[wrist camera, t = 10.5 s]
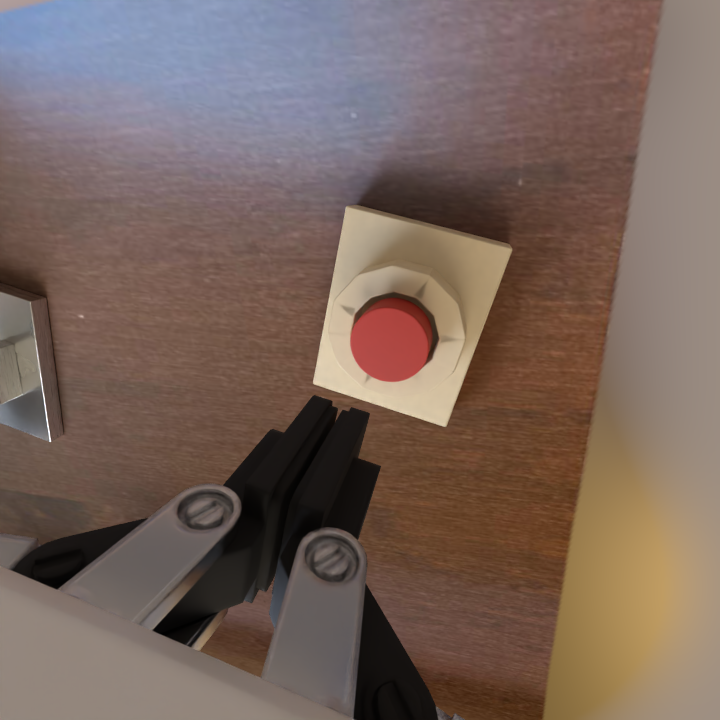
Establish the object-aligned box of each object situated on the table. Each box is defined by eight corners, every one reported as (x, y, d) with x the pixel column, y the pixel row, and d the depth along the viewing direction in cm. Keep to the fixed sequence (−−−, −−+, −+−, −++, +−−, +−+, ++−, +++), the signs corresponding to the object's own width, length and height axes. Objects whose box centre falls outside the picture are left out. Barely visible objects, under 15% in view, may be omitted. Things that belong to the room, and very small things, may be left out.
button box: (355, 204, 21) (334, 206, 18) (510, 243, 20) (517, 254, 17) (321, 372, 25) (300, 398, 22) (447, 412, 24) (443, 446, 21)
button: (368, 288, 19) (358, 297, 18) (442, 309, 19) (439, 320, 17) (352, 355, 21) (342, 369, 19) (420, 376, 20) (416, 392, 19)
